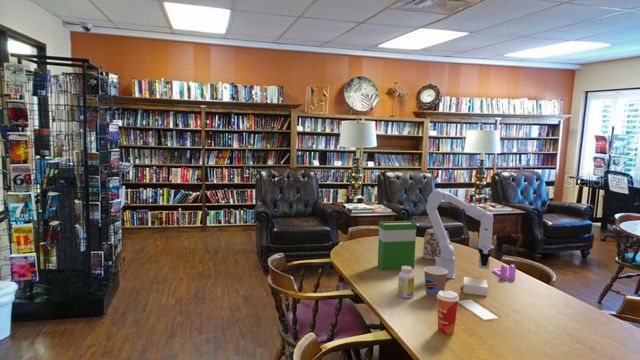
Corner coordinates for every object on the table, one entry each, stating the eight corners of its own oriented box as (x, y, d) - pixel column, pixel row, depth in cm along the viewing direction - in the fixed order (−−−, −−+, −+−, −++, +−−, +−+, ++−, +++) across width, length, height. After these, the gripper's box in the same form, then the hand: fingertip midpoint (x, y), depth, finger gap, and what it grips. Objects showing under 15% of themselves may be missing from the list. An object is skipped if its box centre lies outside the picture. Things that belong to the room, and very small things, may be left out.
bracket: (514, 279, 207) (515, 266, 206) (504, 279, 206) (505, 266, 205) (500, 271, 219) (501, 258, 219) (490, 271, 219) (491, 258, 218)
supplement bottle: (414, 294, 185) (415, 266, 184) (412, 299, 179) (413, 270, 177) (399, 291, 187) (400, 264, 186) (396, 297, 181) (398, 268, 180)
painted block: (463, 292, 188) (463, 284, 187) (463, 285, 197) (463, 277, 197) (487, 296, 184) (487, 287, 184) (486, 288, 194) (486, 279, 193)
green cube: (479, 268, 201) (479, 258, 201) (478, 265, 206) (479, 255, 205) (489, 269, 200) (489, 259, 199) (488, 266, 204) (489, 256, 204)
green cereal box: (408, 264, 227) (410, 220, 225) (414, 268, 220) (416, 223, 217) (377, 265, 224) (379, 221, 221) (382, 270, 217) (384, 224, 214)
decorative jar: (443, 262, 232) (444, 230, 230) (422, 258, 238) (424, 227, 236) (448, 256, 242) (450, 226, 240) (428, 253, 249) (430, 223, 246)
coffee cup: (417, 295, 184) (418, 269, 182) (431, 290, 190) (432, 264, 189) (437, 303, 176) (439, 275, 174) (451, 297, 182) (453, 270, 181)
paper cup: (431, 326, 155) (433, 289, 153) (452, 325, 155) (454, 289, 154) (439, 336, 147) (441, 298, 145) (460, 336, 147) (463, 298, 146)
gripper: (495, 241, 193) (493, 269, 195) (493, 234, 207) (491, 260, 208) (479, 239, 195) (477, 267, 197) (478, 232, 209) (476, 259, 210)
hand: (483, 264), depth 203 cm, fingers closed on green cube, 4 cm apart
